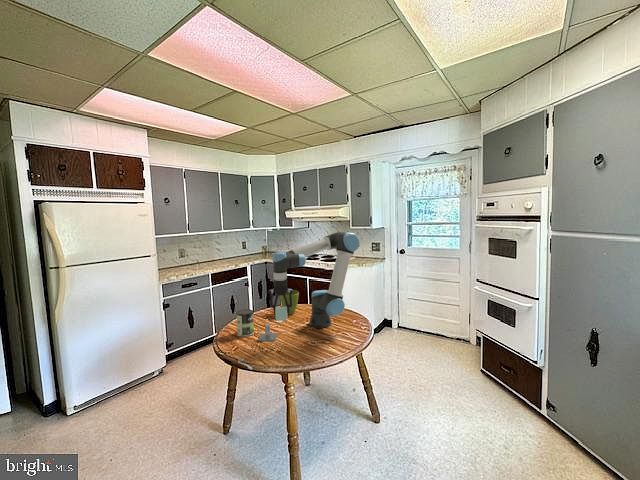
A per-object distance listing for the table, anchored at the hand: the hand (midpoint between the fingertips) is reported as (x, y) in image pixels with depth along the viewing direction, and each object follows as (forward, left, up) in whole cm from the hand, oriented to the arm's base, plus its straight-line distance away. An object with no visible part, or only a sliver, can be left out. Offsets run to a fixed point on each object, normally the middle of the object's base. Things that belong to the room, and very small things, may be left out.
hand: (281, 318), depth 173 cm
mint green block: (0, 0, 0) cm, 0 cm away
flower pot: (-1, -54, -15) cm, 56 cm away
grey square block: (+9, -8, -14) cm, 19 cm away
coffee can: (+24, -16, -15) cm, 33 cm away
